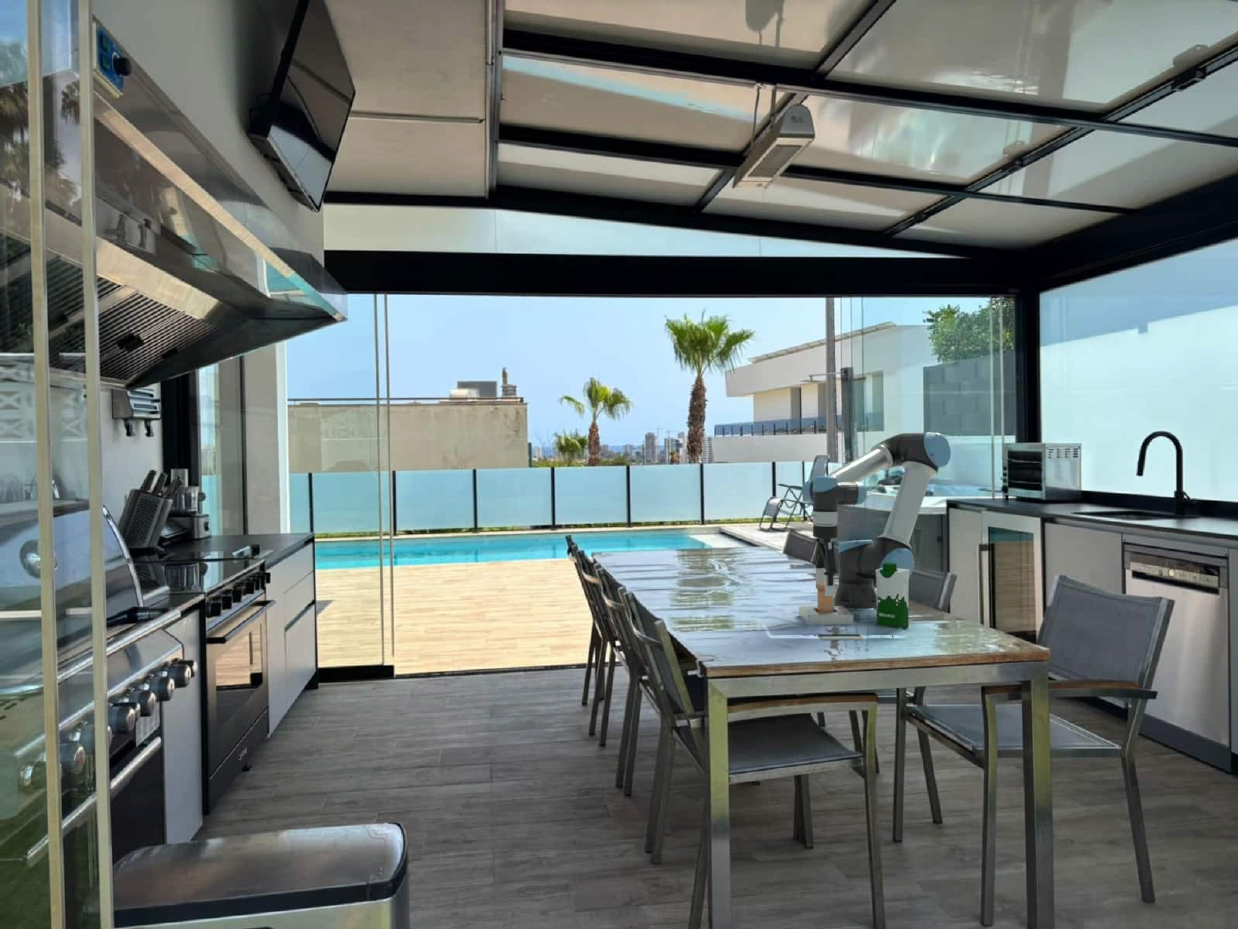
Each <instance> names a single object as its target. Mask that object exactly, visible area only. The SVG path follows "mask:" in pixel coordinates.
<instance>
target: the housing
mask: <svg viewBox="0 0 1238 929" xmlns="http://www.w3.org/2000/svg"><path fill="white" fill-rule="evenodd" d="M798 606H799V605H798ZM798 610H799V611H798V615H799V617H800V618H801V619H802V621H804V623H806V625H808V626H811V625H812V626H820V625H821V626H825V625H827V626H828V625H829V626H830V625H831V626H832V625H833V626H834V625H835V626H836V625H837V626H839V625H842V626H845V625H847V626H848V625H851V626H852V625H855V624H854V623H855V622H854V613H852V612H850V610H849V609H848V608H844V607H843V606H834V612H823V613H817V605H800V606H799V607H798Z"/></svg>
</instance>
